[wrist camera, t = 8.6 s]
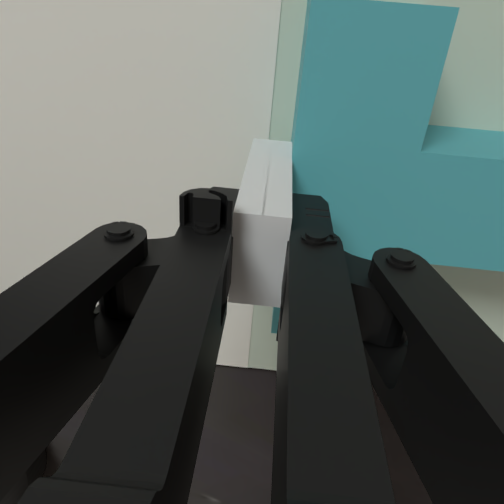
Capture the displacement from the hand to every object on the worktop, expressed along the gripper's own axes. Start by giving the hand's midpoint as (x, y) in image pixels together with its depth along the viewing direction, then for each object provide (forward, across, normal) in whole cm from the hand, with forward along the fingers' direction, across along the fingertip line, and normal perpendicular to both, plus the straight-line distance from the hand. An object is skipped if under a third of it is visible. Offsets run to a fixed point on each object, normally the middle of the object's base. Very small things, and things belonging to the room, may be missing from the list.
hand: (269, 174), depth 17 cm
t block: (+2, -7, 0) cm, 7 cm away
